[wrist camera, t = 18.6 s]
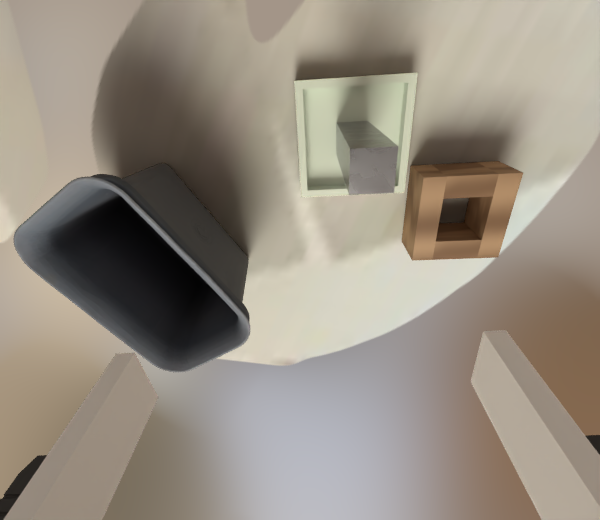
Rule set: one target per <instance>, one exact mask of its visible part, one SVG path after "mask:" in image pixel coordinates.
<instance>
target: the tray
mask: <svg viewBox="0 0 600 520" xmlns="http://www.w3.org/2000/svg"><path fill="white" fill-rule="evenodd" d="M417 76H418V73H399V74H384V75H369V76H354V77H339V78H324V79H309V80H295V81H294V85H295V102H296V119H297V136H298V153H299V170H300V187H301V197H322V196H344V195H349V193H348V190H347V187H346V184H345V181H344V177H343V174H342V171H341V168H340V165H339V162H338V158H337V155H336V123H337V122H354V121H369V122H370V123H371V124H372V125H373V126H375V127H376V128H377V129H378V130H379V131H381V132H382V133H383V134H384V135H385V136H387V137H388V138H389V139H390V140H392V141H393V142H394V143H395V144H396V145H398V156H397V167H396V177H395V188H394V193H404V192H405V183H406V174H407V165H408V156H409V147H410V138H411V129H412V120H413V111H414V102H415V94H416V85H417ZM380 194H387V193H380ZM359 195H365V194H359Z"/></svg>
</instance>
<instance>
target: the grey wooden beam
mask: <svg viewBox="0 0 600 520" xmlns="http://www.w3.org/2000/svg"><path fill="white" fill-rule="evenodd" d="M336 155H337V158H338V162H339V165H340V168H341V171H342V174H343V177H344V181H345V184H346V187H347V190H348V193H349V195H359V194H380V193H394V188H395V177H396V167H397V156H398V145H396V144H395V143H394V142H393V141H392V140H390V139H389V138H388V137H387V136H385V135H384V134H383V133H382V132H381V131H379V130H378V129H377V128H376V127H375V126H373V125H372V124H371V123H370V122H369V121H354V122H337V123H336Z"/></svg>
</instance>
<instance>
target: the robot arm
mask: <svg viewBox="0 0 600 520" xmlns="http://www.w3.org/2000/svg"><path fill="white" fill-rule="evenodd" d="M471 384H472V386H473V388H474V389H475V391H476V393H477V395H478V397H479V399H480V401H481V403H482V405H483V407H484V409H485V411H486V413H487V415H488V416H489V419H490V421H491V422H492V424H493V426H494V428H495V430H496V432H497V434H498V436H499V438H500V440H501V442H502V443H503V446H504V448H505V449H506V452H507V453H508V455H509V457H510V459H511V461H512V463H513V465H514V467H515V469H516V471H517V473H518V475H519V477H520V479H521V481H522V482H523V484H524V486H525V488H526V490H527V492H528V494H529V496H530V498H531V500H532V502H533V504H534V506H535V507H536V510H537V512H538V514H539V515H540V517H541V519H542V520H600V435H591V436H585V435H584V434H583V432H582V431H581V430H580V428H579V427H578V426H577V424H576V423H575V422H574V420H573V419H572V418H571V416H570V415H569V414H568V412H567V411H566V410H565V408H564V407H563V406H562V404H561V403H560V402H559V400H558V399H557V398H556V396H555V395H554V394H553V393H552V391H551V390H550V389H549V387H548V386H547V384H546V383H545V382H544V381H543V379H542V378H541V376H540V375H539V374H538V372H537V371H536V370H535V369H534V367H533V366H532V365H531V363H530V362H529V361H528V359H527V358H526V357H525V355H524V354H523V353H522V351H521V350H520V349H519V347H518V346H517V345H516V343H515V342H514V341H513V339H512V338H511V337H510V335H509V334H508V333H507V331H506V330H502V331H486V332H483V335H482V339H481V344H480V348H479V351H478V355H477V359H476V363H475V367H474V371H473V375H472V379H471ZM157 399H158V396H157V394H156V392H155V390H154V388H153V386H152V384H151V383H150V381H149V379H148V377H147V375H146V373H145V371H144V370H143V368H142V366H141V364H140V362H139V360H138V358H137V356H136V354H135V353H122V354H116V355H115V356H114V357H113V359H112V361H111V362H110V363H109V365H108V366H107V368H106V369H105V371H104V372H103V374H102V375H101V377H100V378H99V380H98V381H97V383H96V384H95V385H94V387H93V389H92V390H91V391H90V393H89V395H88V396H87V398H86V399H85V401H84V402H83V403H82V405H81V406H80V408H79V409H78V411H77V412H76V414H75V415H74V417H73V418H72V419H71V421H70V422H69V424H68V425H67V427H66V428H65V430H64V431H63V433H62V434H61V436H60V437H59V439H58V440H57V442H56V443H55V445H54V446H53V447H52V449H51V450H50V452H49V453H48V455H44V456H37V457H36V458H35V459H34V460H33V461H32V462H31V463H30V464H29V465H27V467H25V468H24V469H23V470H22V471H21V472H20V473H19V474H18V476H17V477H16V478H15V480H14V481H13V483H12V484H11V485H10V487H9V488H8V490H7V491H6V492H5V494H4V497H3V498H2V499H0V520H102V519H103V516H104V514H105V512H106V510H107V508H108V506H109V504H110V501H111V499H112V497H113V495H114V493H115V491H116V488H117V486H118V484H119V482H120V480H121V477H122V475H123V473H124V471H125V469H126V467H127V464H128V462H129V460H130V458H131V456H132V454H133V451H134V449H135V447H136V445H137V443H138V440H139V438H140V436H141V434H142V432H143V430H144V427H145V425H146V423H147V421H148V419H149V416H150V414H151V412H152V410H153V408H154V406H155V403H156V401H157Z"/></svg>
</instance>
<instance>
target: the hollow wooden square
mask: <svg viewBox="0 0 600 520" xmlns="http://www.w3.org/2000/svg"><path fill="white" fill-rule="evenodd" d="M522 175H523V173H522V172H520V171H518V170H516V169H514V168H512V167H510V166H508V165H505V164H503V163H501V162H499V161H491V162H472V163H452V164H433V165H413V166H411V167H410V175H409V184H408V192H407V201H406V209H405V218H404V227H403V235H402V243H403V244H404V246H405V248H406V250H407V252H408V254H409V255H410V257H411V259H412V260H435V259H463V258H492V257H498V256H499V252H500V249H501V246H502V242H503V239H504V236H505V232H506V229H507V225H508V222H509V219H510V215H511V212H512V209H513V205H514V202H515V199H516V195H517V192H518V188H519V185H520V182H521V178H522ZM448 198H469V201H468V205H467V210H466V214H465V219H464V222H460V223H439V220H440V214H441V209H442V203H443V199H448Z"/></svg>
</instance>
